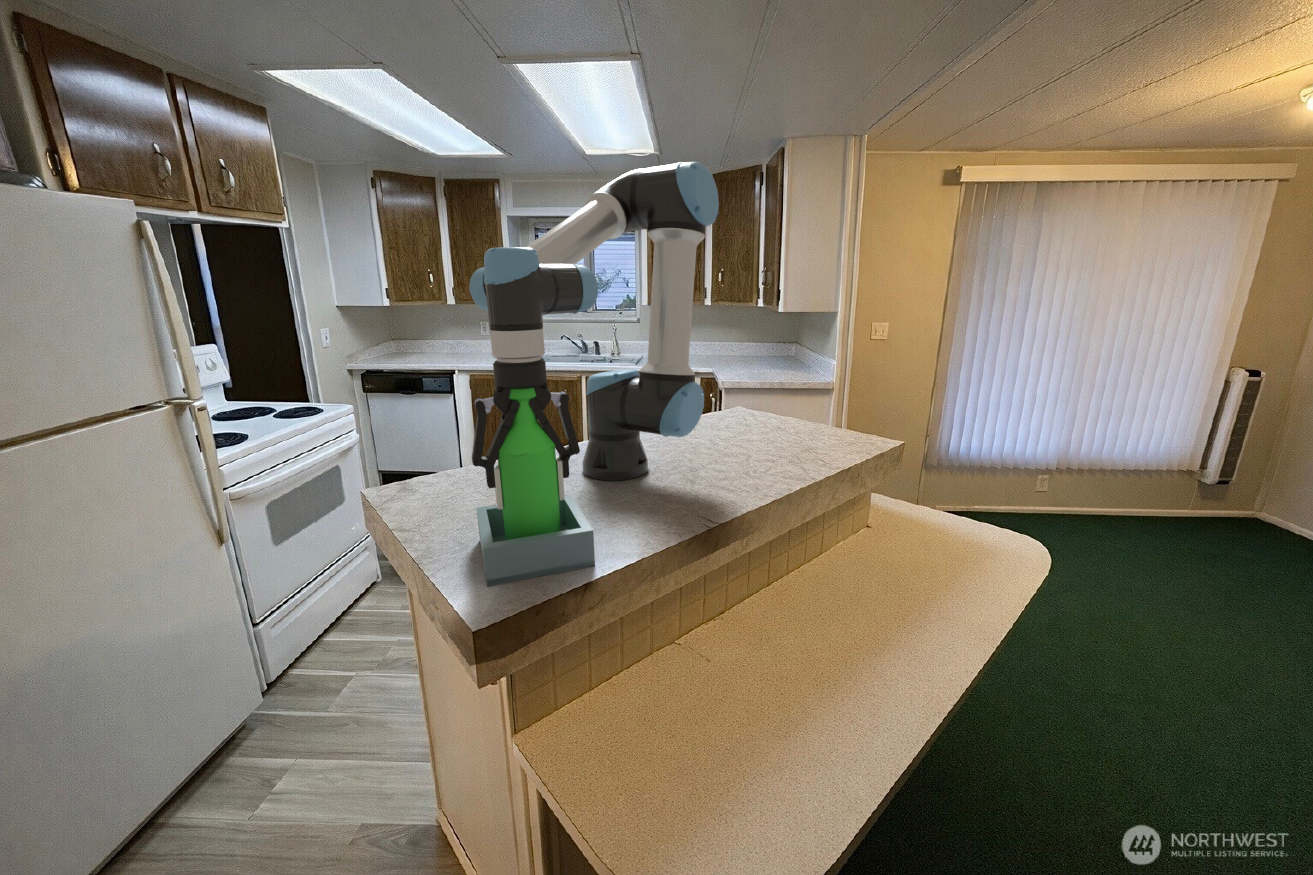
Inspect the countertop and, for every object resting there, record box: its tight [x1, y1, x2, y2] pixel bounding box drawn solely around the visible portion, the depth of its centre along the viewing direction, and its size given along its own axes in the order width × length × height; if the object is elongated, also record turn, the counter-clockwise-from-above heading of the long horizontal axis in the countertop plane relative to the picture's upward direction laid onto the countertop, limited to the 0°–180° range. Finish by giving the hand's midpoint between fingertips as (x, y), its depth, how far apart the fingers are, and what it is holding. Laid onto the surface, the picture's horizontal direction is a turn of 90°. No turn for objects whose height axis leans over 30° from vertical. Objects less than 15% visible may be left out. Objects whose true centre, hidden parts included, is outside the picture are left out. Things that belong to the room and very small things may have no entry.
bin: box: [475, 493, 596, 587], centre depth 88 cm, size 16×16×6 cm
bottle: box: [497, 387, 561, 540], centre depth 85 cm, size 9×9×25 cm
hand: (530, 501), depth 87 cm, fingers closed on bottle, 9 cm apart
